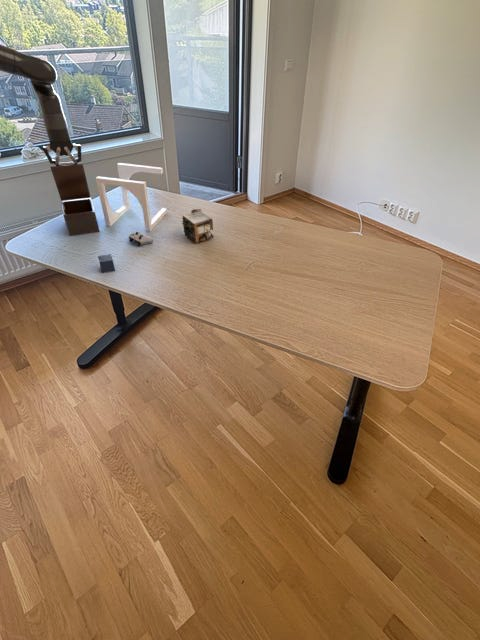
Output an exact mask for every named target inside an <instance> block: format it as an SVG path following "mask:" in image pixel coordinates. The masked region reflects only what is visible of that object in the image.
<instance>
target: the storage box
mask: <svg viewBox="0 0 480 640" xmlns="http://www.w3.org/2000/svg"><path fill="white" fill-rule="evenodd" d="M60 201H61V200H60ZM61 208H62V215H63V218H64V222H65V226H66V229H67V231H68V235H69V237H72V236H73V237H74V236H80V235H87V234H95V233H100V231H101V230H100V227H99V222H98V218H97V215H96V211H95V207H94V204H93V200H92V198H91V197H90V198H81V199H72V200H63V201H61Z"/></svg>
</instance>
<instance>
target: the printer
mask: <svg viewBox="0 0 480 640" xmlns="http://www.w3.org/2000/svg"><path fill="white" fill-rule="evenodd" d="M181 219H182V221H181V224H182V226H183V234H184V236H187V237H186V238H188V239H190V240H191V241H192V242H194V243H200V242H203V241H207V240H210V239H214V236H215V235H214V234H213V233H212V232H211V230H212V231H214V222H213V218H212V217H210V216H209V215H207V214H205V213H203V211H202V209H201V208H196V209H192V210H191V213H187V214H183V215H182V218H181Z"/></svg>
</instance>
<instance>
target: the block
mask: <svg viewBox="0 0 480 640" xmlns="http://www.w3.org/2000/svg"><path fill="white" fill-rule="evenodd" d="M97 258H98V261H99V266H100V270H101V272H102V274H105V273H111V272H115V271H116V267H115V263H114V259H113V256H112V253H109V254H101V255H98V256H97Z"/></svg>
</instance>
